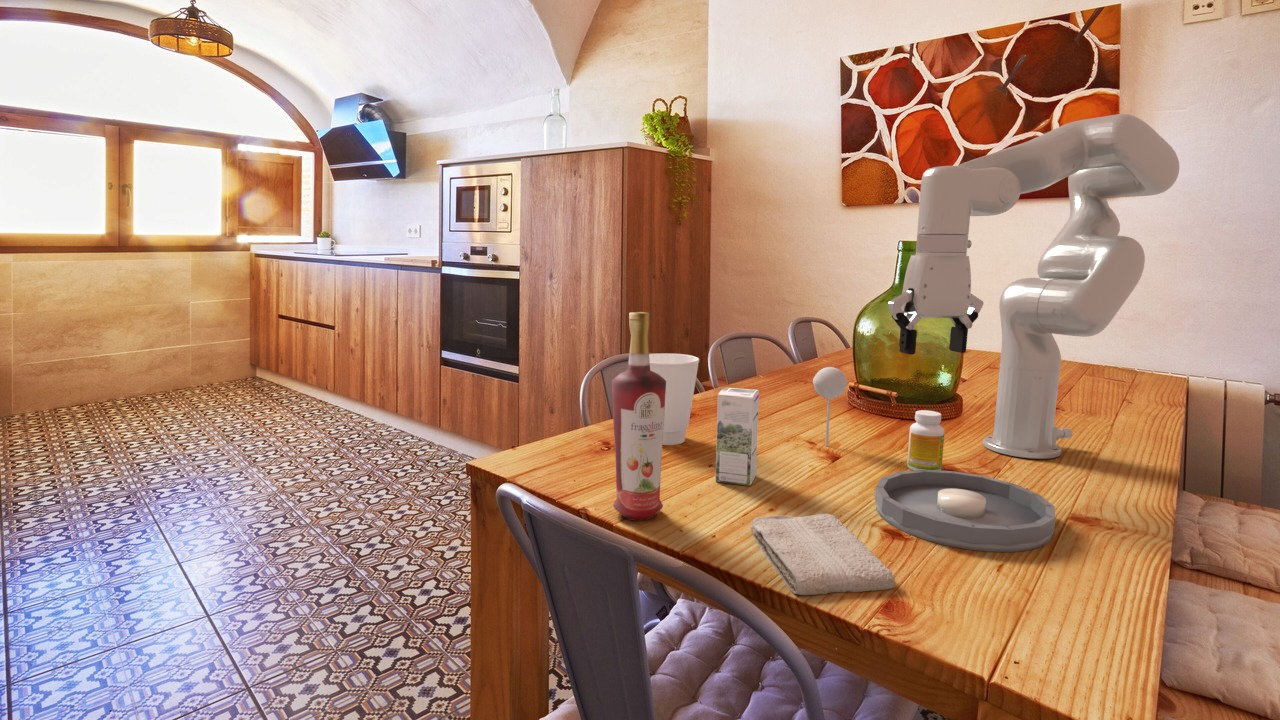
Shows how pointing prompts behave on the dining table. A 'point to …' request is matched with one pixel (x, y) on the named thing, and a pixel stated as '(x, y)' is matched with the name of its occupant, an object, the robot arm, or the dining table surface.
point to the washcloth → (819, 555)
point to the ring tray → (965, 510)
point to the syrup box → (737, 435)
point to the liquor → (638, 428)
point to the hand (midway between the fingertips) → (932, 352)
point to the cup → (676, 392)
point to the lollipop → (829, 387)
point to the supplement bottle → (926, 442)
